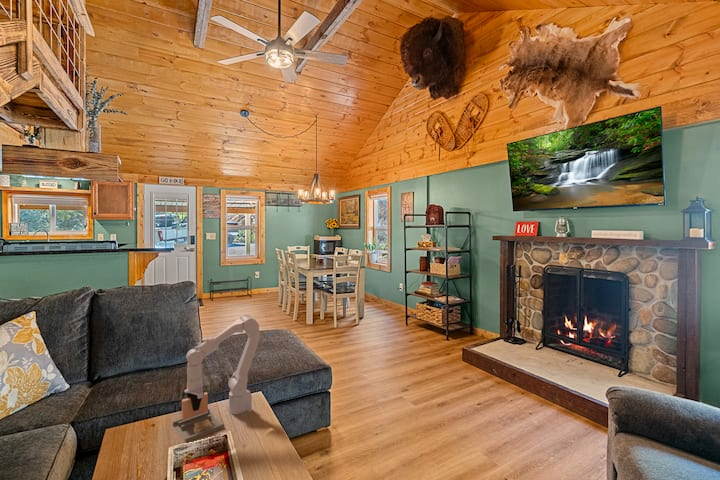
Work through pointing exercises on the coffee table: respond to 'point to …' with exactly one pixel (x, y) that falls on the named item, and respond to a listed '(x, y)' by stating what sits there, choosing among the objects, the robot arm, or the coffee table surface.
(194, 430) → the block
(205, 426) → the offcut top
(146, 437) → the coffee table surface
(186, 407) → the panel
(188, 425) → the rack
